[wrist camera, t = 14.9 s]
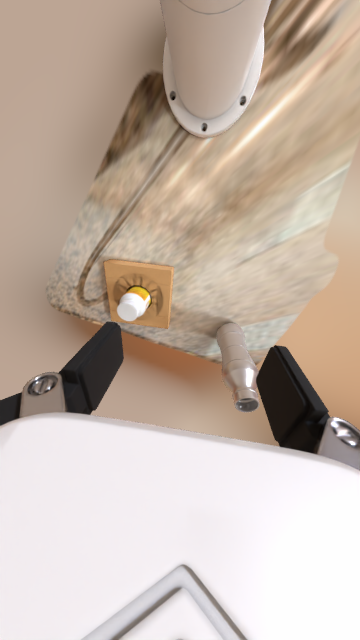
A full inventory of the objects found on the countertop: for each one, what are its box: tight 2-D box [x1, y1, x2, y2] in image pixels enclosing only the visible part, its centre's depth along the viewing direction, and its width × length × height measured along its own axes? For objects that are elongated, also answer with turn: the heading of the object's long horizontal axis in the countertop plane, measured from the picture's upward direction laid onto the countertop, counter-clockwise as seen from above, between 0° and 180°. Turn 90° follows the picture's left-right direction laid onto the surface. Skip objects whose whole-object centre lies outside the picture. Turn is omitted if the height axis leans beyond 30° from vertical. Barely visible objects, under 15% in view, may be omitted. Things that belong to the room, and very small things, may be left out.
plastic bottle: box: [217, 323, 259, 412], centre depth 34 cm, size 6×7×20 cm
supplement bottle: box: [117, 285, 152, 321], centre depth 36 cm, size 5×5×10 cm
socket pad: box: [104, 259, 174, 329], centre depth 39 cm, size 14×14×3 cm
